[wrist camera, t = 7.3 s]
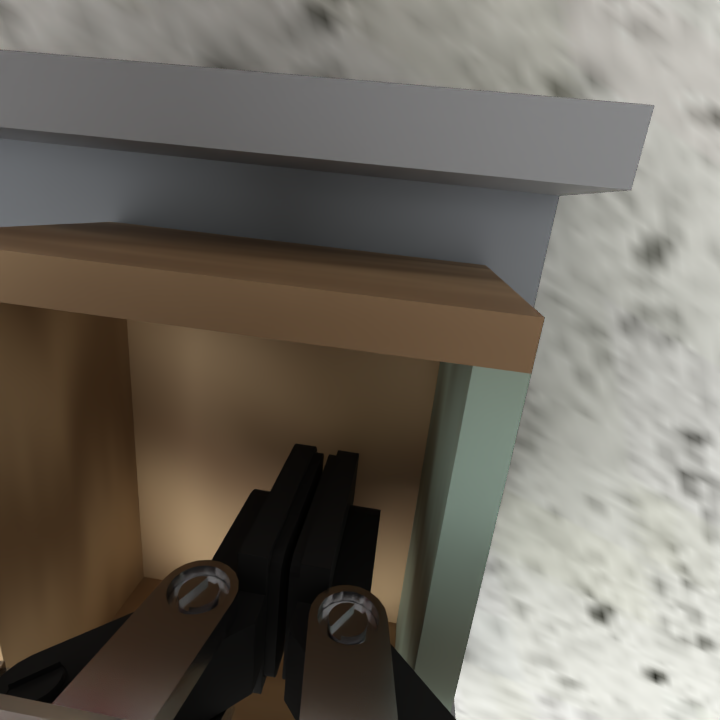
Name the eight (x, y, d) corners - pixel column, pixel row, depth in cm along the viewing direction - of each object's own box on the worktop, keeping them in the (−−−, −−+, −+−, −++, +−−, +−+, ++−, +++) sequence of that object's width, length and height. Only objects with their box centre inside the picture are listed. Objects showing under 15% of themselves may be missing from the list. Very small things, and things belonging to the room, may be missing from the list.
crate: (110, 221, 12) (-132, 233, 7) (485, 265, 12) (544, 317, 6) (136, 573, 16) (-7, 758, 11) (418, 625, 15) (417, 853, 10)
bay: (-212, 74, 13) (-552, 3, 9) (559, 146, 12) (654, 104, 7) (-82, 564, 19) (-244, 680, 15) (444, 664, 17) (453, 833, 13)
